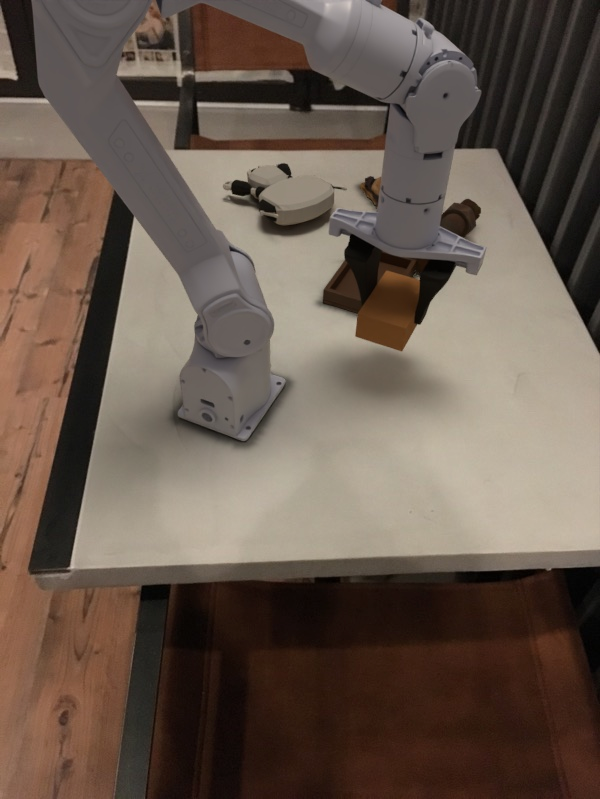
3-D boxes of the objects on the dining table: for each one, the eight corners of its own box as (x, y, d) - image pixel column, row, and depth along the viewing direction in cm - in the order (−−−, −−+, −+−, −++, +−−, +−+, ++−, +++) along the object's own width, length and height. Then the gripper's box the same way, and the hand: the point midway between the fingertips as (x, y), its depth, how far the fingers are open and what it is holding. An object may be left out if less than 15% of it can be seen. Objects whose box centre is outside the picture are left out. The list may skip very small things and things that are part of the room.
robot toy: (218, 204, 100) (280, 244, 91) (215, 174, 97) (279, 212, 88) (285, 179, 105) (349, 214, 97) (284, 150, 102) (350, 184, 94)
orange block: (402, 352, 67) (406, 328, 65) (354, 336, 68) (357, 313, 66) (427, 306, 72) (432, 283, 70) (383, 293, 73) (386, 270, 71)
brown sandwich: (440, 211, 99) (445, 188, 96) (388, 222, 96) (392, 198, 94) (404, 176, 105) (408, 154, 103) (355, 186, 103) (357, 163, 100)
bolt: (470, 234, 97) (421, 282, 88) (446, 208, 97) (394, 254, 88) (498, 208, 92) (450, 256, 83) (472, 181, 92) (421, 226, 83)
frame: (385, 321, 81) (387, 308, 80) (322, 302, 83) (323, 289, 82) (415, 271, 88) (417, 258, 87) (356, 255, 90) (357, 242, 89)
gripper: (506, 186, 60) (474, 308, 70) (353, 149, 64) (343, 270, 74) (486, 225, 55) (454, 350, 65) (322, 183, 59) (316, 306, 69)
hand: (394, 310), depth 69 cm, fingers closed on orange block, 5 cm apart
